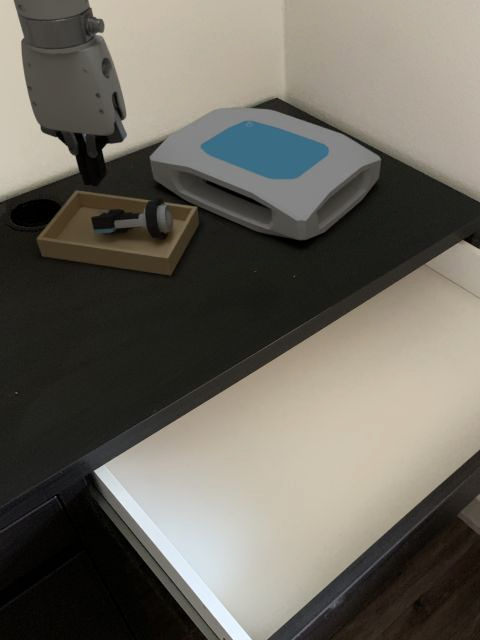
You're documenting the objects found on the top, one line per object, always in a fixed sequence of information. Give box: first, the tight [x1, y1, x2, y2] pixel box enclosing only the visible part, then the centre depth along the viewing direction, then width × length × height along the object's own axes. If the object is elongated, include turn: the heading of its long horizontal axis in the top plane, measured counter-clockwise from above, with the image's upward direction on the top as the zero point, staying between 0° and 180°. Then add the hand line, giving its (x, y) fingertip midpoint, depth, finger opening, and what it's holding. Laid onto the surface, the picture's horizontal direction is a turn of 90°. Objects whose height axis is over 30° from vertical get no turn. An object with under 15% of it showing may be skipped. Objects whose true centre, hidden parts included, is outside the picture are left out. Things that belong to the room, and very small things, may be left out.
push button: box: [91, 197, 173, 239], centre depth 90 cm, size 7×5×10 cm
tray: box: [35, 189, 200, 277], centre depth 91 cm, size 18×12×3 cm
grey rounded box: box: [149, 106, 382, 241], centre depth 99 cm, size 21×28×6 cm
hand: (95, 180), depth 85 cm, fingers closed
